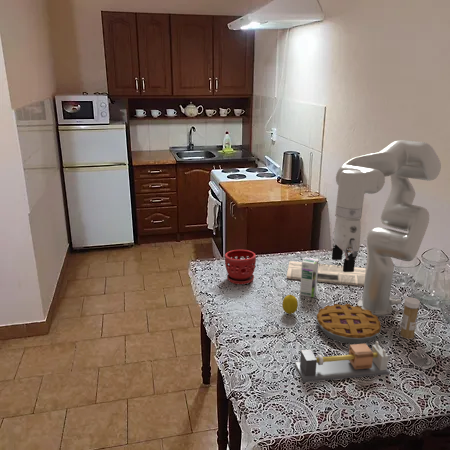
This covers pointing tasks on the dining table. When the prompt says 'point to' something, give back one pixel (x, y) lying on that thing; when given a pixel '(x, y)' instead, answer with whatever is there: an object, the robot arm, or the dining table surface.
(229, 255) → the plant pot
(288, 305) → the lemon
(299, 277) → the newspaper
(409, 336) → the sprinkles bottle
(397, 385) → the dining table surface
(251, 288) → the dining table surface
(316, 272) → the syrup box
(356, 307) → the pie
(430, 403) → the dining table surface
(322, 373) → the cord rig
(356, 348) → the sleeve
